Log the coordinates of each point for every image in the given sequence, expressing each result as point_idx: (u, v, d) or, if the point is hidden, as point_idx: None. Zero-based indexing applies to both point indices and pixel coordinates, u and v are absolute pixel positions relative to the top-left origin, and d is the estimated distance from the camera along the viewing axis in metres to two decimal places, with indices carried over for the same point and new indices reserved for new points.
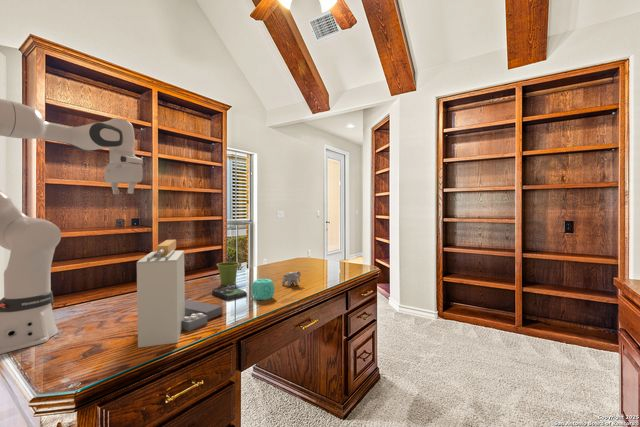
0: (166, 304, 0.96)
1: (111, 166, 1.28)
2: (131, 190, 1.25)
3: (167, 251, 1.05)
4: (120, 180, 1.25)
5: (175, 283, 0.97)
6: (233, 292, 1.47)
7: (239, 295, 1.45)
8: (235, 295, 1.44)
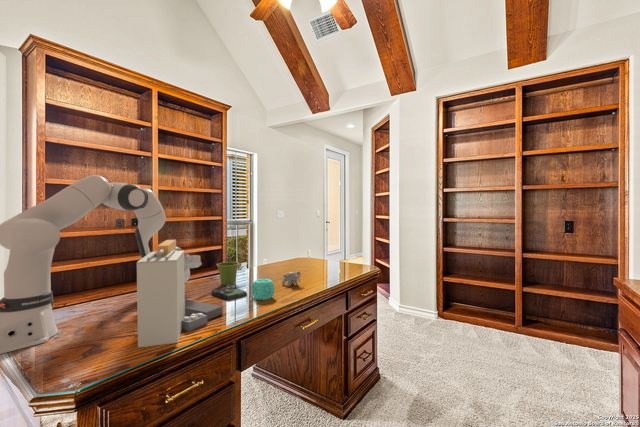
0: (166, 304, 0.96)
1: (188, 268, 1.42)
2: None
3: (167, 251, 1.05)
4: None
5: (175, 283, 0.97)
6: (233, 292, 1.47)
7: (239, 295, 1.45)
8: (235, 295, 1.44)
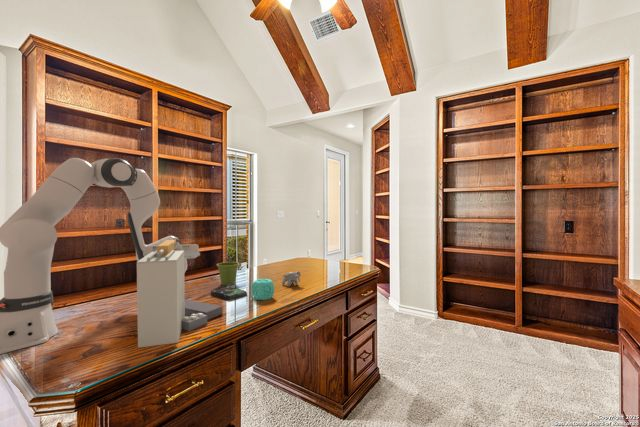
0: (166, 304, 0.96)
1: (185, 258, 1.30)
2: None
3: (167, 251, 1.05)
4: None
5: (175, 283, 0.97)
6: (233, 292, 1.47)
7: (240, 295, 1.46)
8: (236, 295, 1.44)
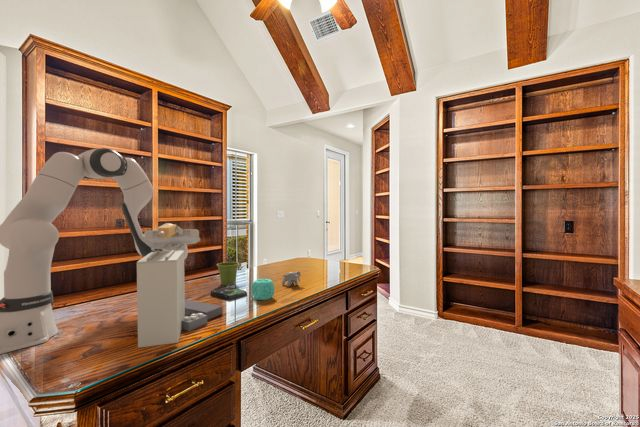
0: (166, 304, 0.96)
1: (185, 243, 1.30)
2: None
3: (168, 233, 1.06)
4: (168, 238, 1.24)
5: (175, 283, 0.97)
6: (233, 292, 1.47)
7: (240, 295, 1.46)
8: (236, 295, 1.44)
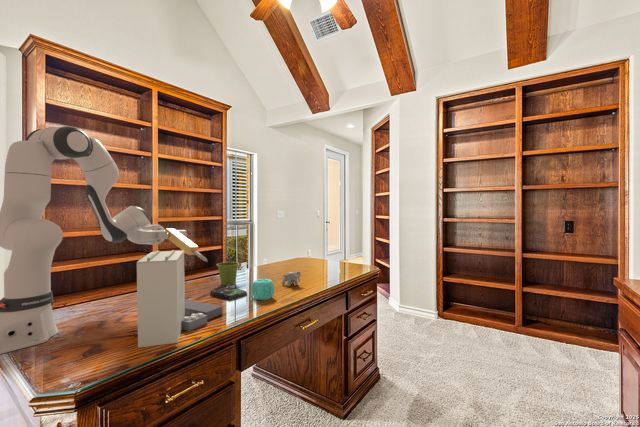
0: (166, 304, 0.96)
1: None
2: (165, 234, 1.27)
3: (196, 251, 1.21)
4: (163, 239, 1.31)
5: (175, 283, 0.97)
6: (233, 292, 1.47)
7: (240, 295, 1.46)
8: (236, 295, 1.44)
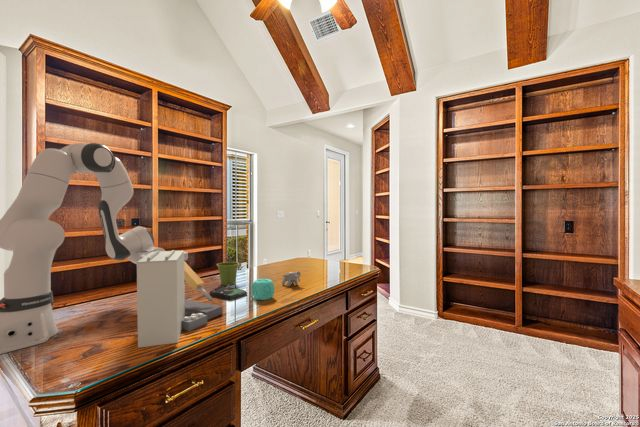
0: (166, 304, 0.96)
1: None
2: None
3: (201, 286, 1.28)
4: None
5: (175, 283, 0.97)
6: (233, 292, 1.47)
7: (240, 294, 1.46)
8: (237, 295, 1.44)
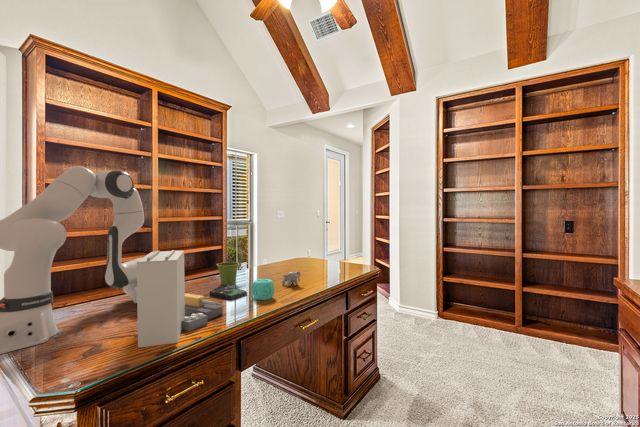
0: (166, 304, 0.96)
1: None
2: None
3: None
4: None
5: (175, 283, 0.97)
6: (233, 292, 1.47)
7: (240, 294, 1.46)
8: (237, 295, 1.44)
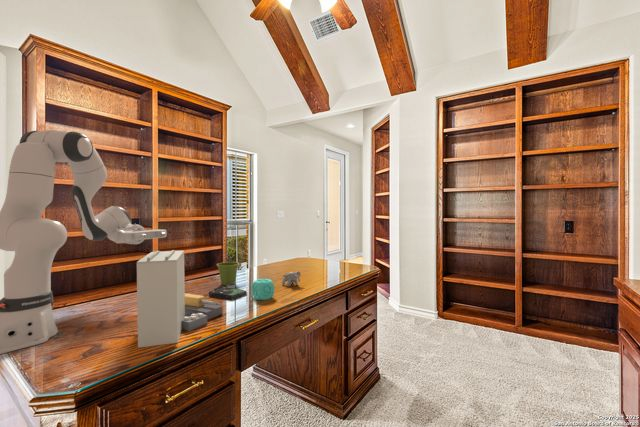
0: (166, 304, 0.96)
1: None
2: (140, 236, 1.31)
3: None
4: (143, 239, 1.36)
5: (175, 283, 0.97)
6: (233, 292, 1.47)
7: (241, 294, 1.47)
8: (237, 294, 1.45)
